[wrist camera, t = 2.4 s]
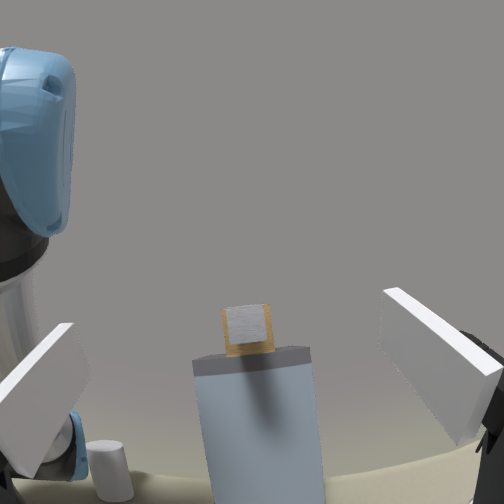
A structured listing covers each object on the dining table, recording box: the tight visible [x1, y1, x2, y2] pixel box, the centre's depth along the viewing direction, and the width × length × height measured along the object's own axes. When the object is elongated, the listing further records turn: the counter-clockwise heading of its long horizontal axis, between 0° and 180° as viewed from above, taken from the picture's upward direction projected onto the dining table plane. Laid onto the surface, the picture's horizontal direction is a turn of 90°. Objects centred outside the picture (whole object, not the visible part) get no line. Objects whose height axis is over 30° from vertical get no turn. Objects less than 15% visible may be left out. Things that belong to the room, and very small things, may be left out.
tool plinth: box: [192, 346, 325, 504], centre depth 38 cm, size 16×14×30 cm
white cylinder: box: [85, 440, 135, 503], centre depth 44 cm, size 8×8×12 cm
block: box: [222, 304, 275, 357], centre depth 36 cm, size 24×6×6 cm, turn 0°
